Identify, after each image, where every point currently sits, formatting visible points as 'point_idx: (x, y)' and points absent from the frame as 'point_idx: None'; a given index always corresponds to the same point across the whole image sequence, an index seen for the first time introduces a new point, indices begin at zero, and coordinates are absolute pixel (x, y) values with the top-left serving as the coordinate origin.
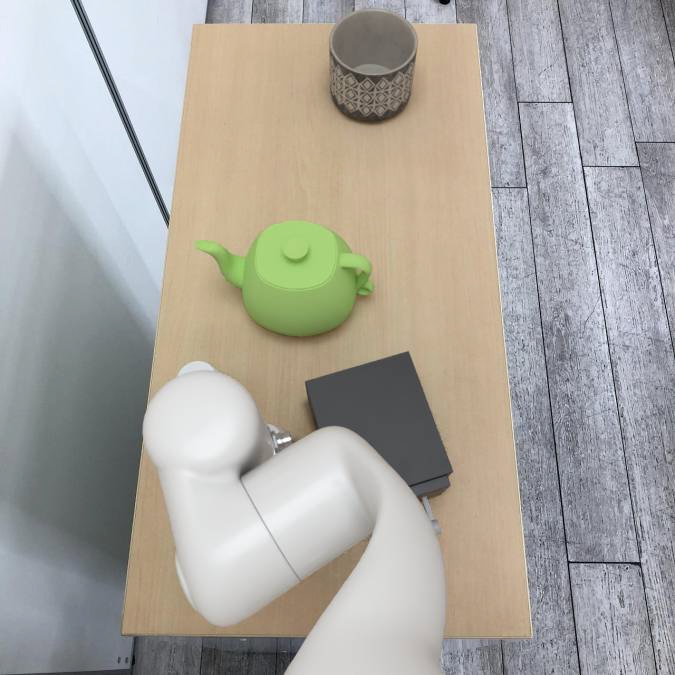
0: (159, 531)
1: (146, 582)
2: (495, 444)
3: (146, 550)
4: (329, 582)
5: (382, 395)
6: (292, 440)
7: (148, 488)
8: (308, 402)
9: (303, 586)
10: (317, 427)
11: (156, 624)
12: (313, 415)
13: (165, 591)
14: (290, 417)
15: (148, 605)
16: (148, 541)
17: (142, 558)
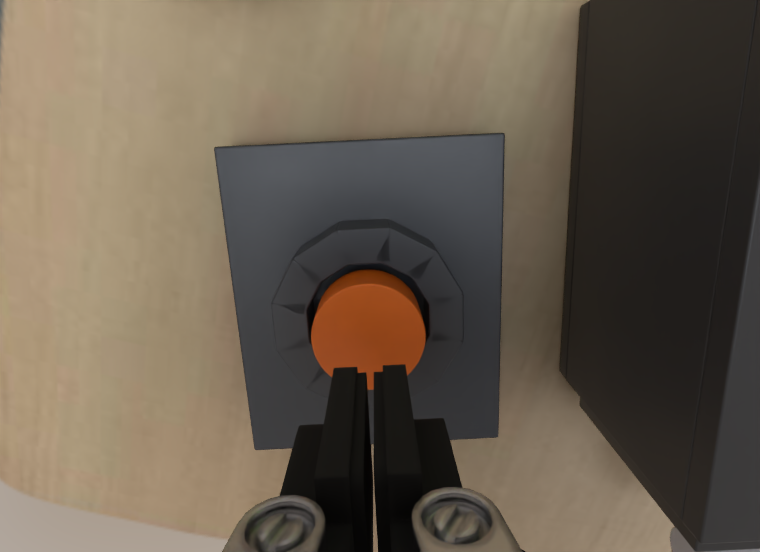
0: (52, 294)
1: (21, 407)
2: None
3: (16, 334)
4: None
5: None
6: (504, 138)
7: (12, 162)
8: (594, 1)
9: None
10: (673, 147)
11: (51, 496)
12: (650, 76)
13: (72, 437)
14: (504, 40)
15: (29, 456)
16: (21, 313)
17: (6, 351)
